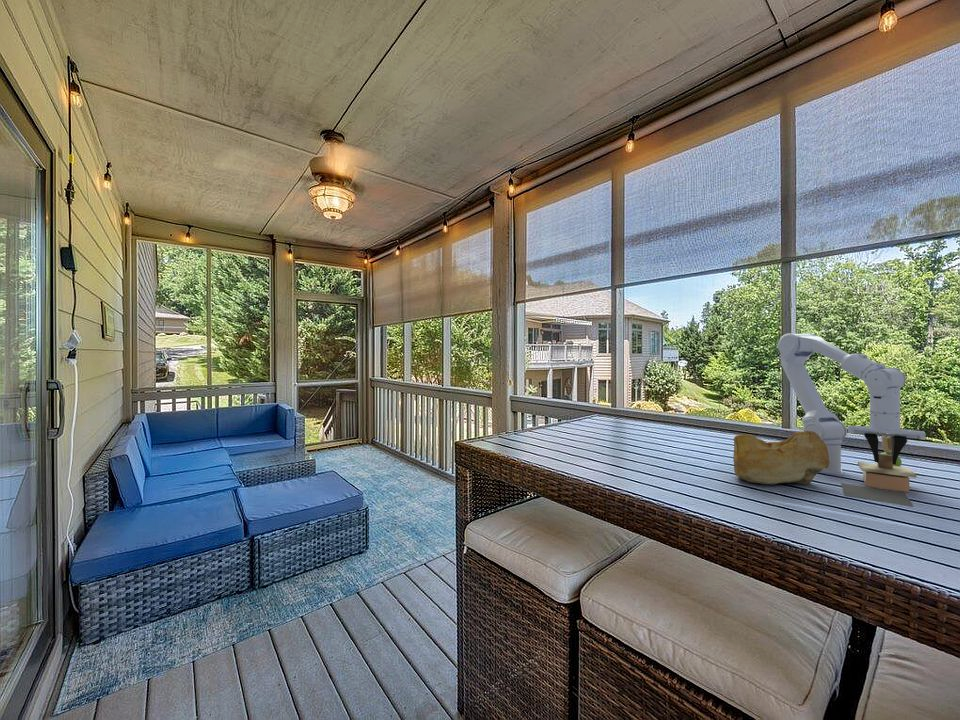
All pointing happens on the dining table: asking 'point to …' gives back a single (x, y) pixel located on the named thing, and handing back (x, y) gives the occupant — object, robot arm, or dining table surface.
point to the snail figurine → (889, 448)
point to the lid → (886, 467)
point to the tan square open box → (886, 481)
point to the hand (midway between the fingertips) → (884, 462)
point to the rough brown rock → (780, 458)
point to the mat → (876, 494)
